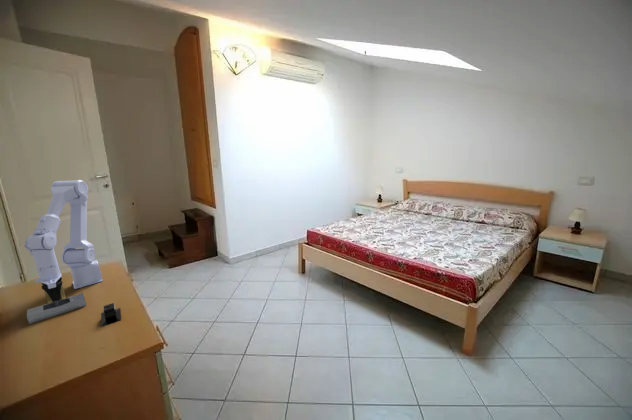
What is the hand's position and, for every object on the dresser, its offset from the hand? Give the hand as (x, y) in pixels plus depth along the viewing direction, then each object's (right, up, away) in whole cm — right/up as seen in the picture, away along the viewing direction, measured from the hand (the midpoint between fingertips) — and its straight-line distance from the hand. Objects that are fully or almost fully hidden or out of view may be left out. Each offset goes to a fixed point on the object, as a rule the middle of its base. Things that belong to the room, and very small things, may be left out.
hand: (56, 298), depth 105 cm
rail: (+6, -3, -5) cm, 8 cm away
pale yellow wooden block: (0, -2, 0) cm, 2 cm away
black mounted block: (+27, -4, -9) cm, 29 cm away
